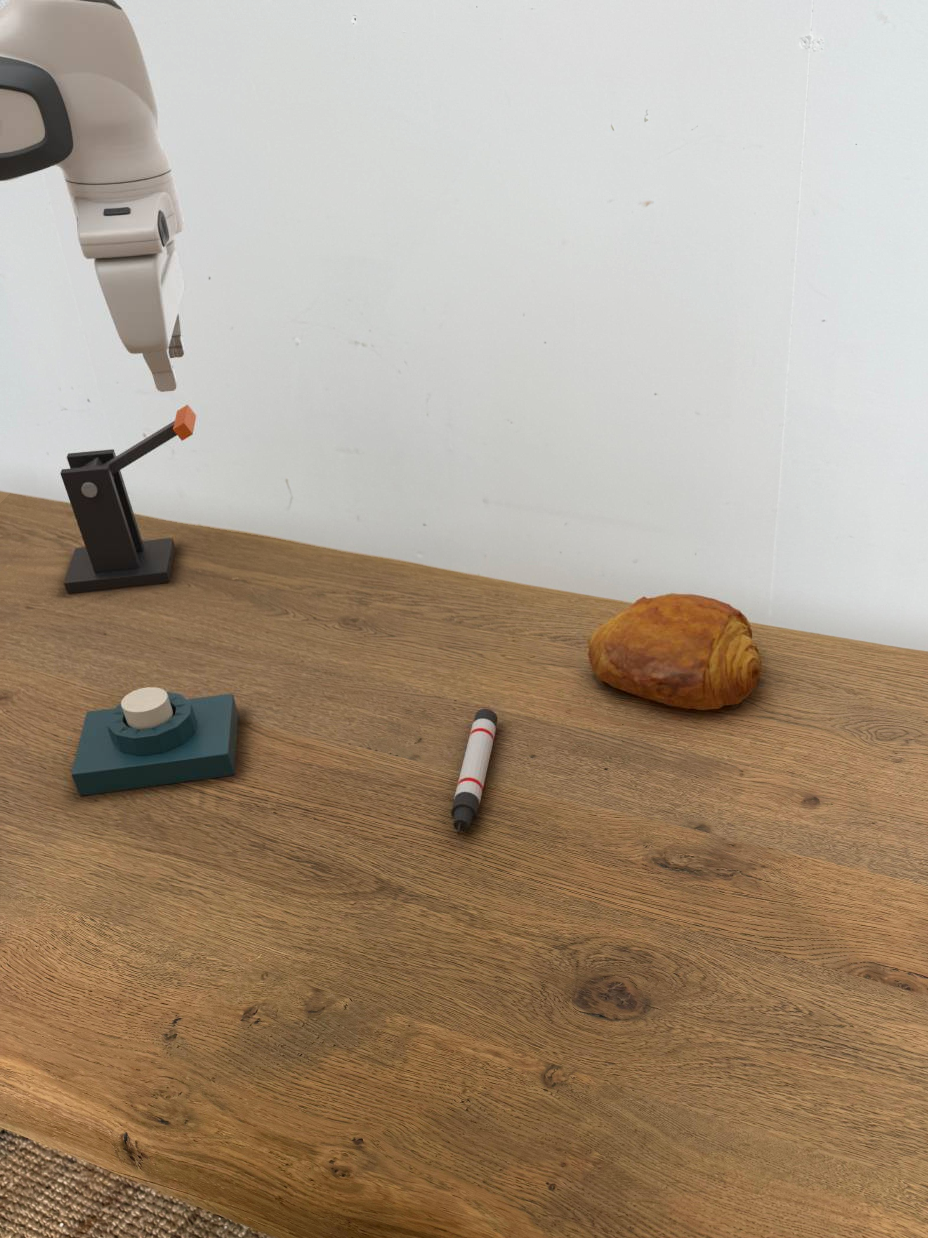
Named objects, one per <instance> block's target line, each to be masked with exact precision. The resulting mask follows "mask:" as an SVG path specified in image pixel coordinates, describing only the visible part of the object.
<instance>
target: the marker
mask: <svg viewBox="0 0 928 1238" xmlns="http://www.w3.org/2000/svg"><path fill="white" fill-rule="evenodd" d="M497 725H498V715H497V714H496V712H494V711H493V710H491V709H489V708H481V709H479V710H478V711H477V712H476V713H475V714H474V719H473V722H472V725H471V729H470V733H469V736H468V740H467V746H466V749H465V753H464V757H463V761H462V765H461V769H460V772H459V773H460V774H459V777H458V781H457V784H456V785H457V786H456V789H455V794H454V798H453V804H452V807H451V817H452V819H453V823H452V824H453V828H454V830H456V833H457V835H458V836H461V833H463V832H467V831H468V830H469V828H470V825H471V824H472V823H473V822H475V820H476V819H477V814H478V810H479V807H480V804H481V799H482V794H483V791H484V790H483V789H484V786H485V782H486V776H487V772H488V768H489V763H490V759H491V758H490V757H491V754H492V749H493V744H494V740H495V736H496V731H497V729H496V727H497Z"/></svg>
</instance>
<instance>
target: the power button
mask: <svg viewBox="0 0 928 1238" xmlns="http://www.w3.org/2000/svg"><path fill="white" fill-rule="evenodd" d="M167 692H168V691H166V690H165V689H164V688H161V687H155V686H149V687H142V688H138V689H135V690H132V691H130V692H129V693H127V694H126V695H124V697H122V699H121V701H120V703H121V707H122V709H123V712H124V715H125V718H126V721H127V723H128V725H129V726H130V727H132V728H135V729H146V728H153V727H156V726H158V725H161V724H163V723H165V722H168V721H169V720H170V719H171V718H172V716H173V710H172V707H171V704H170V701H169V698H168V694H167Z"/></svg>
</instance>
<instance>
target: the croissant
mask: <svg viewBox="0 0 928 1238" xmlns="http://www.w3.org/2000/svg"><path fill="white" fill-rule="evenodd" d="M751 628H752V627H751V623H750V621H749V619H748V618H747V617H746V615H745V614H743V613H742V612H741V610H739V609H738V608H735V607H733V606H732V605H731V604H730V603H726V602H723V601H722V600H719V599H716V598H712V597H707V596H704V595H699V594H693V593H673V592H672V593H671V592H670V593H667V594H662V595H657V596H655V597H654V596H653V597H649V598H648V597H646V596H642V597H640V598H639V599H637V600H636V601H634V603H633V604H632V605H630V606H629V607H628V608H627V609H625V610H624V611H622V612H620V613H618V614H616V615H615V616H614V617H613V618H611V619H608V620H607V621H606V622H605V623H603V624H602V625H600V626H599V627H598V628H597V629H596V630H595V631H594V632H593V633H592V635H590V637H589V639H588V652H587V656H588V659H589V664H590V666H591V667H592V670H593V673H595V676H597V678H598V680H599V681H601V682H604V683H606V684H608V685H609V686H611V687H612V688H614V689H617V690H620V691H624V692H626V693H629V694H632V695H634V696H637V697H640V698H642V699H643V698H644V699H646V700H651V701H654V702H657V703H661V704H664V705H666V706H671V707H676V708H683V709H687V710H688V709H693V710H696V711H697V710H698V711H707V710H718V709H721V708H722V707H724V706H725V707H726V706H733V705H738V704H740V703H741V702H742V701H743V700H745V699H746V698H747V697H748V696H749V695H750V694H751V693H752V692H753V691H754V689H755V687H756V685H757V682H758V680H759V677H760V675H761V672H762V661H761V658H760V657H761V656H760V655H759V648H758V646H757V645H756V643H755V641H754V640H753V630H752V629H751Z"/></svg>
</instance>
